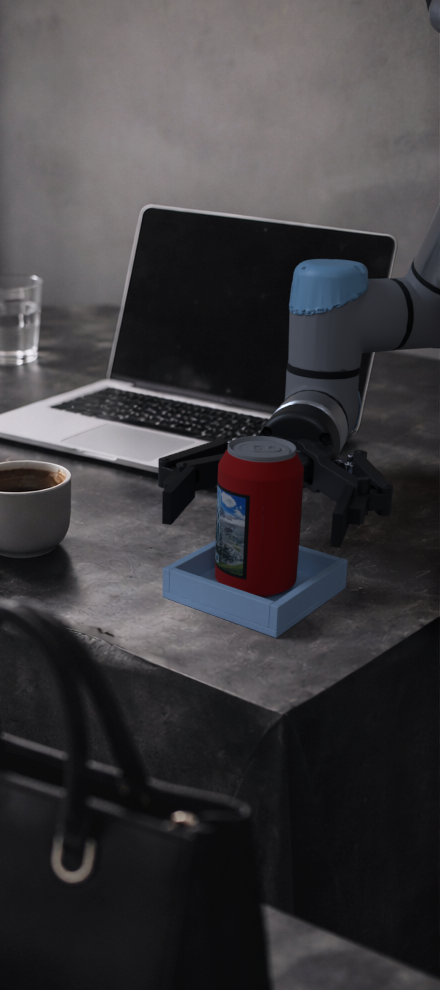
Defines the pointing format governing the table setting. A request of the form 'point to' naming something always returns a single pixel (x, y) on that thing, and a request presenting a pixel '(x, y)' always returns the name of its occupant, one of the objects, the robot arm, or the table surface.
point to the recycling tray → (271, 615)
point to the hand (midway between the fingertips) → (249, 519)
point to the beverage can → (258, 515)
